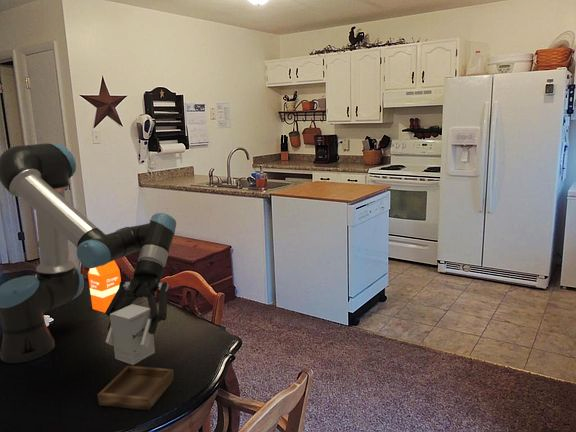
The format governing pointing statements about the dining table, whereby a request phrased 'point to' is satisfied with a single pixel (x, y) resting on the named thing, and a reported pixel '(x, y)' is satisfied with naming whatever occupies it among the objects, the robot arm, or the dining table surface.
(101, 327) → the dining table surface
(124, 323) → the supplement box
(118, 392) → the tray
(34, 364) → the dining table surface
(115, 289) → the orange juice
